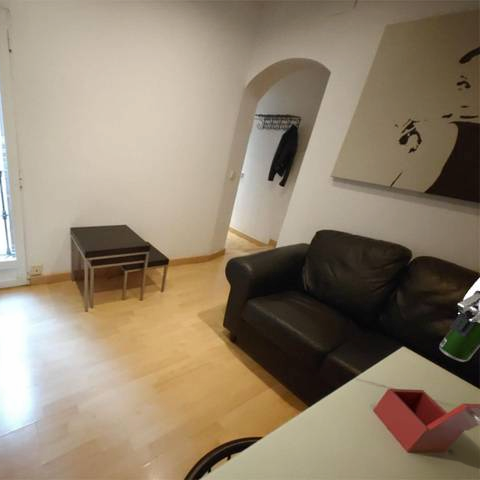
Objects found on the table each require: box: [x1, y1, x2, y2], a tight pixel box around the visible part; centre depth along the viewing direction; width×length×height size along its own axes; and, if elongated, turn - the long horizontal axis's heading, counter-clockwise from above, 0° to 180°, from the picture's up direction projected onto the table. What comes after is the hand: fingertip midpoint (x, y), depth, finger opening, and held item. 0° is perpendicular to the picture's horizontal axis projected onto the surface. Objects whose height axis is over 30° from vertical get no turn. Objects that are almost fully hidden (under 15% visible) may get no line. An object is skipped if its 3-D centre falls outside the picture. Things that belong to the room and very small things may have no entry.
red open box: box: [372, 388, 466, 453], centre depth 67 cm, size 10×11×9 cm
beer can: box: [438, 309, 480, 363], centre depth 63 cm, size 5×5×12 cm
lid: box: [427, 403, 480, 431], centre depth 56 cm, size 11×11×5 cm
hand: (468, 332), depth 63 cm, fingers closed on beer can, 5 cm apart
